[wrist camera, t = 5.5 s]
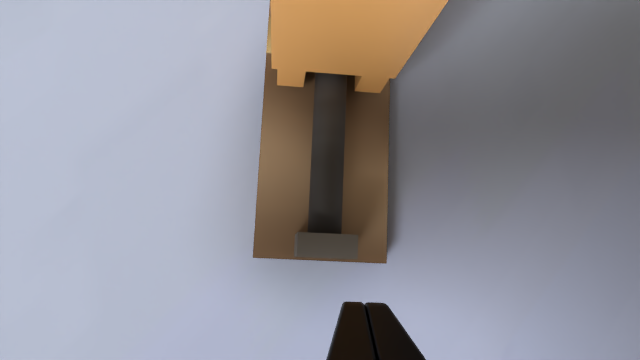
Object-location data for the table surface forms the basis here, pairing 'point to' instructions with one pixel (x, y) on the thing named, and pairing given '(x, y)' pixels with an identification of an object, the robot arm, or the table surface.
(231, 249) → the table surface
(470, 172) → the table surface
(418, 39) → the orange slab
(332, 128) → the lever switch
